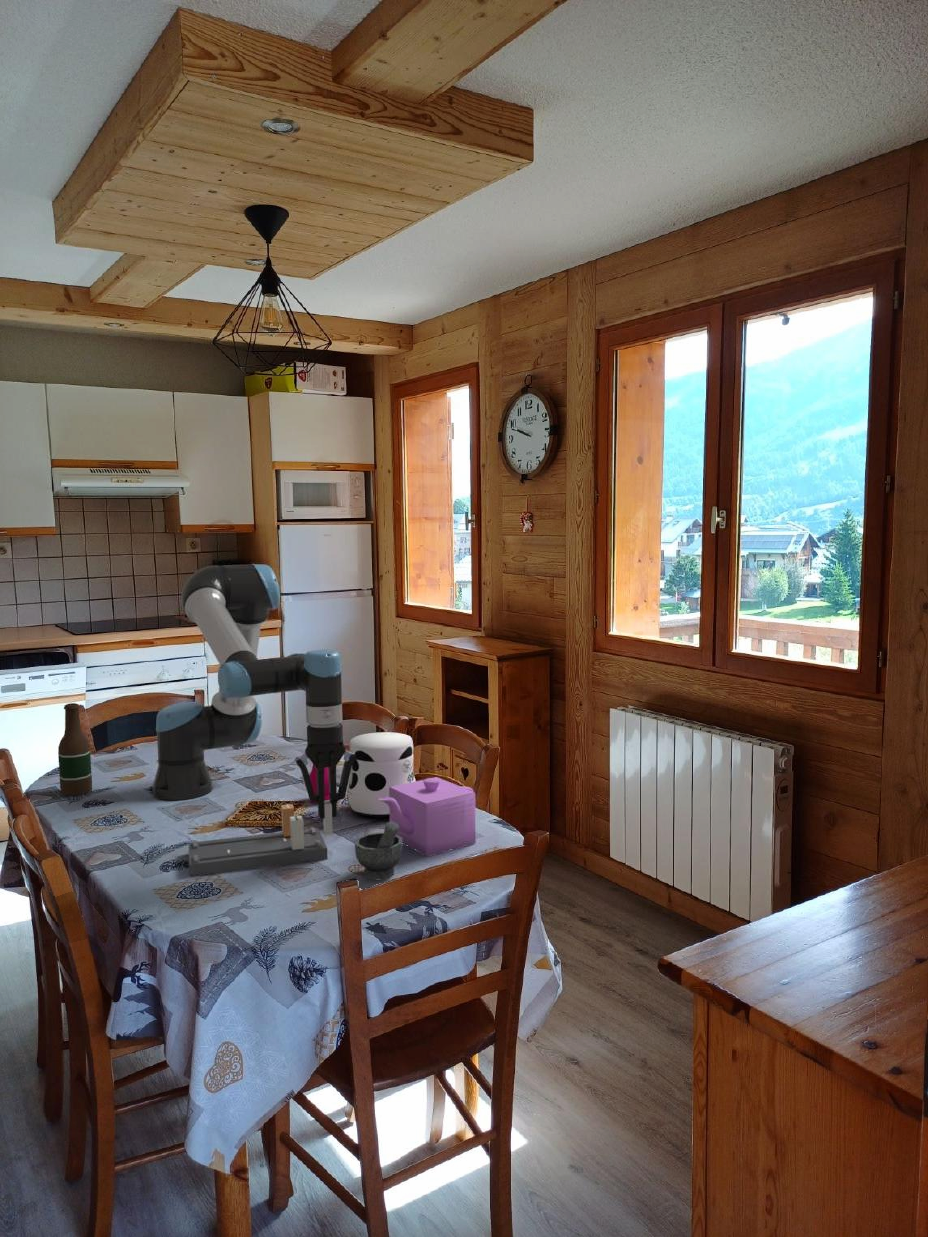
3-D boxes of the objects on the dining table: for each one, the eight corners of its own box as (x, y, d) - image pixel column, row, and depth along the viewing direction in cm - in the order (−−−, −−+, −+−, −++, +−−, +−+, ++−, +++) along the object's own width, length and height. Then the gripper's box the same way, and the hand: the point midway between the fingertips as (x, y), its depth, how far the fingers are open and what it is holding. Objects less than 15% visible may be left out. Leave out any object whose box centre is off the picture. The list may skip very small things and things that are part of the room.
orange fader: (282, 832, 197) (281, 804, 196) (293, 831, 198) (292, 803, 197) (283, 836, 194) (282, 808, 194) (294, 835, 195) (294, 807, 194)
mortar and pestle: (347, 872, 181) (345, 815, 180) (385, 860, 187) (384, 805, 186) (376, 889, 173) (375, 830, 171) (416, 877, 178) (415, 819, 177)
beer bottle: (54, 795, 235) (48, 706, 232) (76, 787, 242) (71, 700, 239) (76, 798, 232) (71, 708, 229) (98, 790, 239) (93, 702, 236)
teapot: (362, 844, 197) (360, 782, 196) (454, 821, 212) (453, 763, 210) (398, 865, 185) (397, 799, 183) (493, 839, 200) (492, 778, 198)
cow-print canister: (432, 809, 220) (431, 738, 218) (379, 827, 207) (378, 752, 205) (385, 795, 232) (384, 727, 230) (333, 811, 219) (331, 740, 217)
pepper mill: (330, 805, 224) (328, 728, 221) (303, 804, 225) (301, 727, 223) (340, 797, 231) (338, 721, 228) (313, 795, 232) (311, 720, 230)
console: (188, 853, 192) (188, 840, 192) (318, 838, 201) (317, 825, 200) (189, 876, 180) (189, 862, 180) (327, 858, 188) (327, 845, 188)
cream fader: (290, 845, 189) (289, 816, 189) (302, 843, 190) (301, 815, 189) (292, 850, 186) (291, 820, 186) (304, 848, 187) (303, 819, 186)
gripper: (295, 730, 182) (299, 841, 184) (358, 724, 186) (361, 834, 188) (291, 722, 189) (295, 830, 191) (351, 717, 193) (354, 823, 195)
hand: (328, 832), depth 190 cm, fingers closed
